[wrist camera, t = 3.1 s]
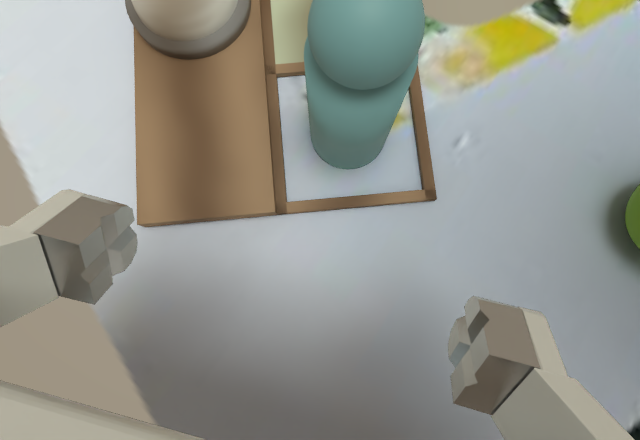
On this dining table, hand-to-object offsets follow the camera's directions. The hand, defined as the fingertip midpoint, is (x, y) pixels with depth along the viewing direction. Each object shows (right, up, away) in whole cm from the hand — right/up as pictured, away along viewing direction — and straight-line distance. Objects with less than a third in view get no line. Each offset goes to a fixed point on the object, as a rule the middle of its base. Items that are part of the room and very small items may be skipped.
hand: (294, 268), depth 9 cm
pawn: (+2, +6, +14) cm, 15 cm away
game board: (-2, +14, +16) cm, 21 cm away
